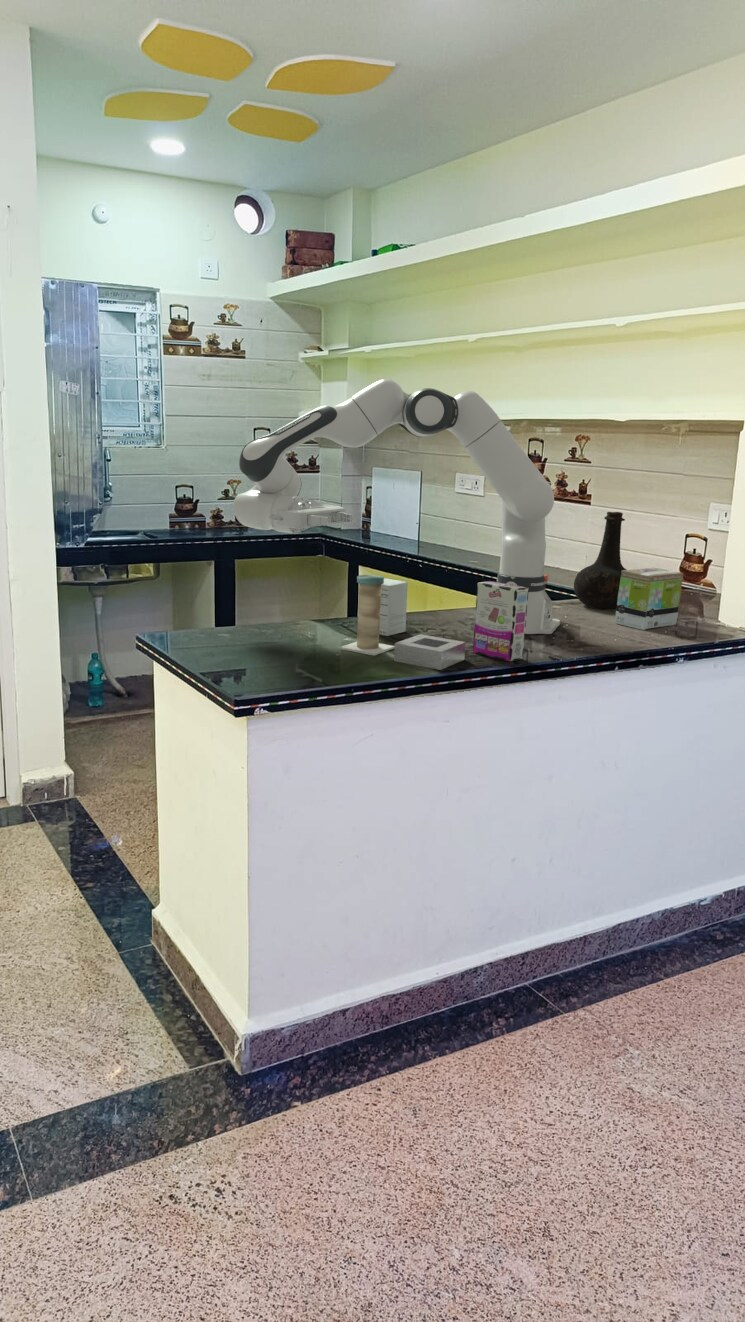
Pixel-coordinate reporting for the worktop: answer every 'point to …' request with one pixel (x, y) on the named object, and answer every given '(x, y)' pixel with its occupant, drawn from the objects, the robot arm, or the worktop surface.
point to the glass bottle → (603, 569)
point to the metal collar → (429, 651)
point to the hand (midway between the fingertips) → (340, 519)
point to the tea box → (648, 598)
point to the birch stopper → (369, 611)
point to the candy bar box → (500, 620)
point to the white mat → (373, 652)
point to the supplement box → (393, 607)
